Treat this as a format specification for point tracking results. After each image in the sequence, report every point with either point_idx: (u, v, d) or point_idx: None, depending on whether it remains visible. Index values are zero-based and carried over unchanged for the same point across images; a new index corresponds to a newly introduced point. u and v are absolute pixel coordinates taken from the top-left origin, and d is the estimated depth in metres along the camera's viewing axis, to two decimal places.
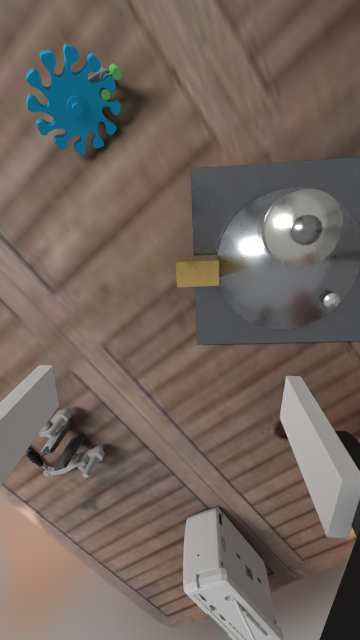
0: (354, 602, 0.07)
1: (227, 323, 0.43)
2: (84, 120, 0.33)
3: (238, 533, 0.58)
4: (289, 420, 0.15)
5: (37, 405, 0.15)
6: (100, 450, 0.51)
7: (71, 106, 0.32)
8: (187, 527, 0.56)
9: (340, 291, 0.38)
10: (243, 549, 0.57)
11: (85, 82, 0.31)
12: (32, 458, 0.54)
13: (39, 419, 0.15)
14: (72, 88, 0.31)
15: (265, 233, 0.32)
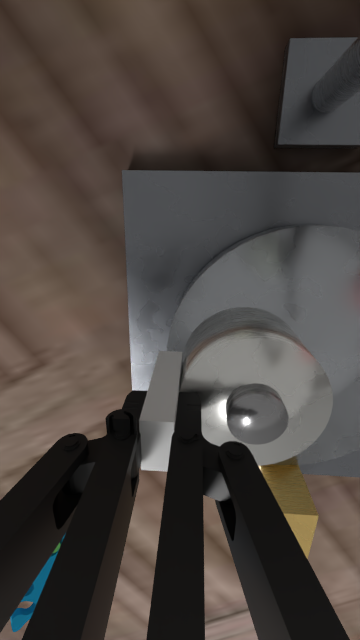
0: (173, 527, 0.08)
1: None
2: None
3: None
4: None
5: None
6: None
7: None
8: None
9: None
10: None
11: (41, 575, 0.27)
12: None
13: None
14: None
15: None
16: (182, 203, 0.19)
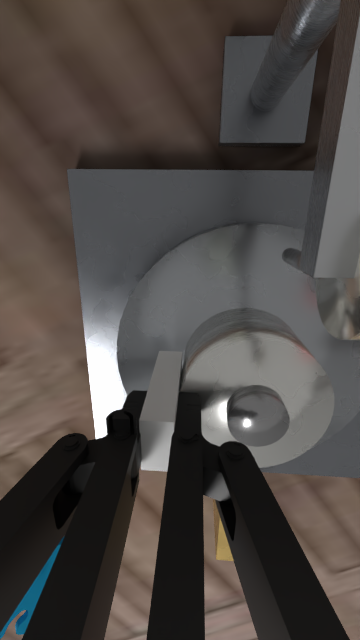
0: (172, 527, 0.08)
1: (341, 434, 0.24)
2: (45, 564, 0.29)
3: None
4: None
5: None
6: None
7: None
8: None
9: None
10: None
11: None
12: None
13: None
14: None
15: None
16: (128, 202, 0.19)
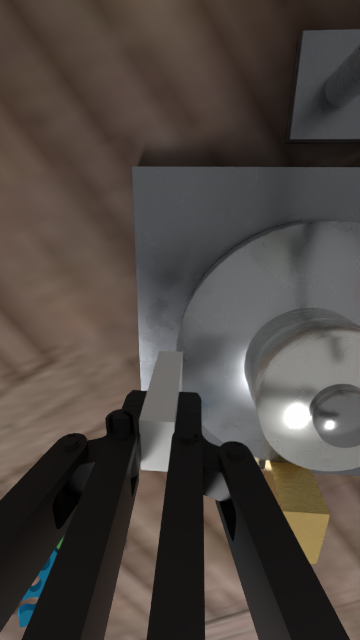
0: (173, 527, 0.08)
1: None
2: None
3: None
4: None
5: None
6: None
7: None
8: None
9: None
10: None
11: (48, 571, 0.28)
12: None
13: None
14: None
15: None
16: (192, 199, 0.19)
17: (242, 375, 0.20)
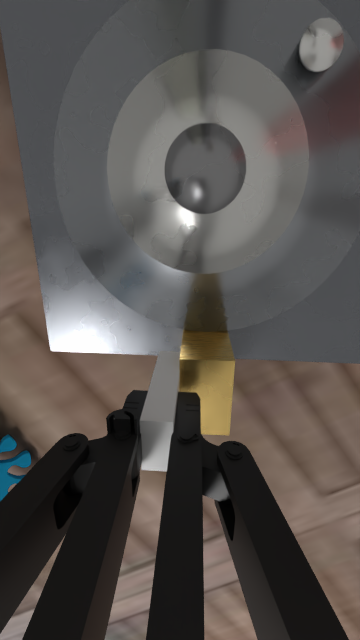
0: (172, 527, 0.08)
1: (328, 303, 0.20)
2: None
3: None
4: None
5: None
6: None
7: None
8: None
9: (299, 18, 0.14)
10: None
11: None
12: None
13: None
14: None
15: None
16: None
17: None
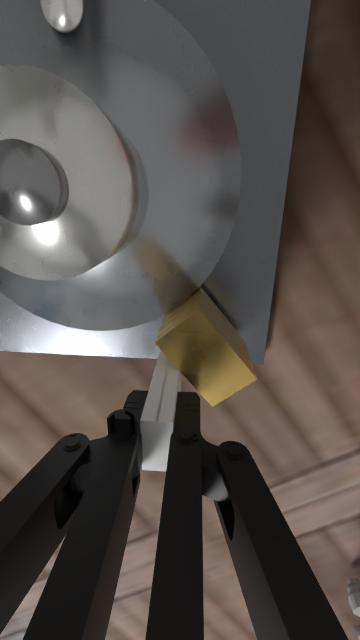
0: (171, 527, 0.08)
1: (223, 304, 0.21)
2: None
3: None
4: None
5: None
6: None
7: None
8: None
9: (31, 5, 0.14)
10: None
11: None
12: None
13: None
14: None
15: None
16: None
17: None
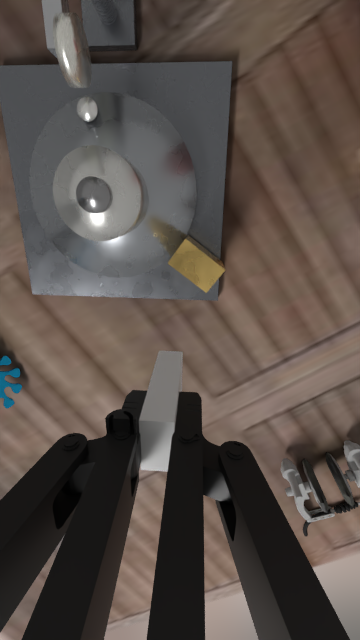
0: (173, 527, 0.08)
1: None
2: None
3: None
4: None
5: None
6: (348, 446, 0.41)
7: None
8: None
9: (72, 113, 0.29)
10: None
11: None
12: (343, 510, 0.47)
13: None
14: None
15: (125, 232, 0.28)
16: (33, 87, 0.30)
17: None
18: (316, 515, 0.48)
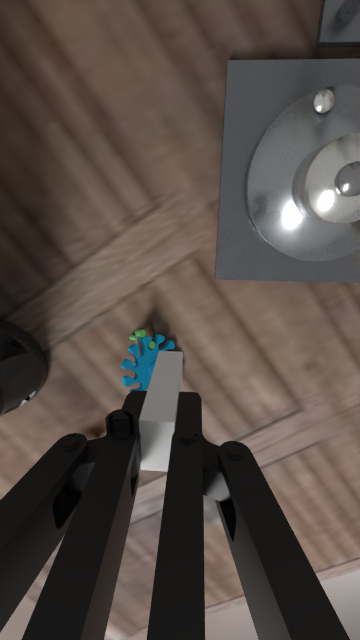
0: (173, 527, 0.08)
1: None
2: None
3: None
4: None
5: None
6: None
7: None
8: None
9: (308, 104, 0.31)
10: None
11: (143, 358, 0.41)
12: None
13: None
14: (144, 368, 0.41)
15: None
16: (261, 81, 0.32)
17: (308, 220, 0.35)
18: None
